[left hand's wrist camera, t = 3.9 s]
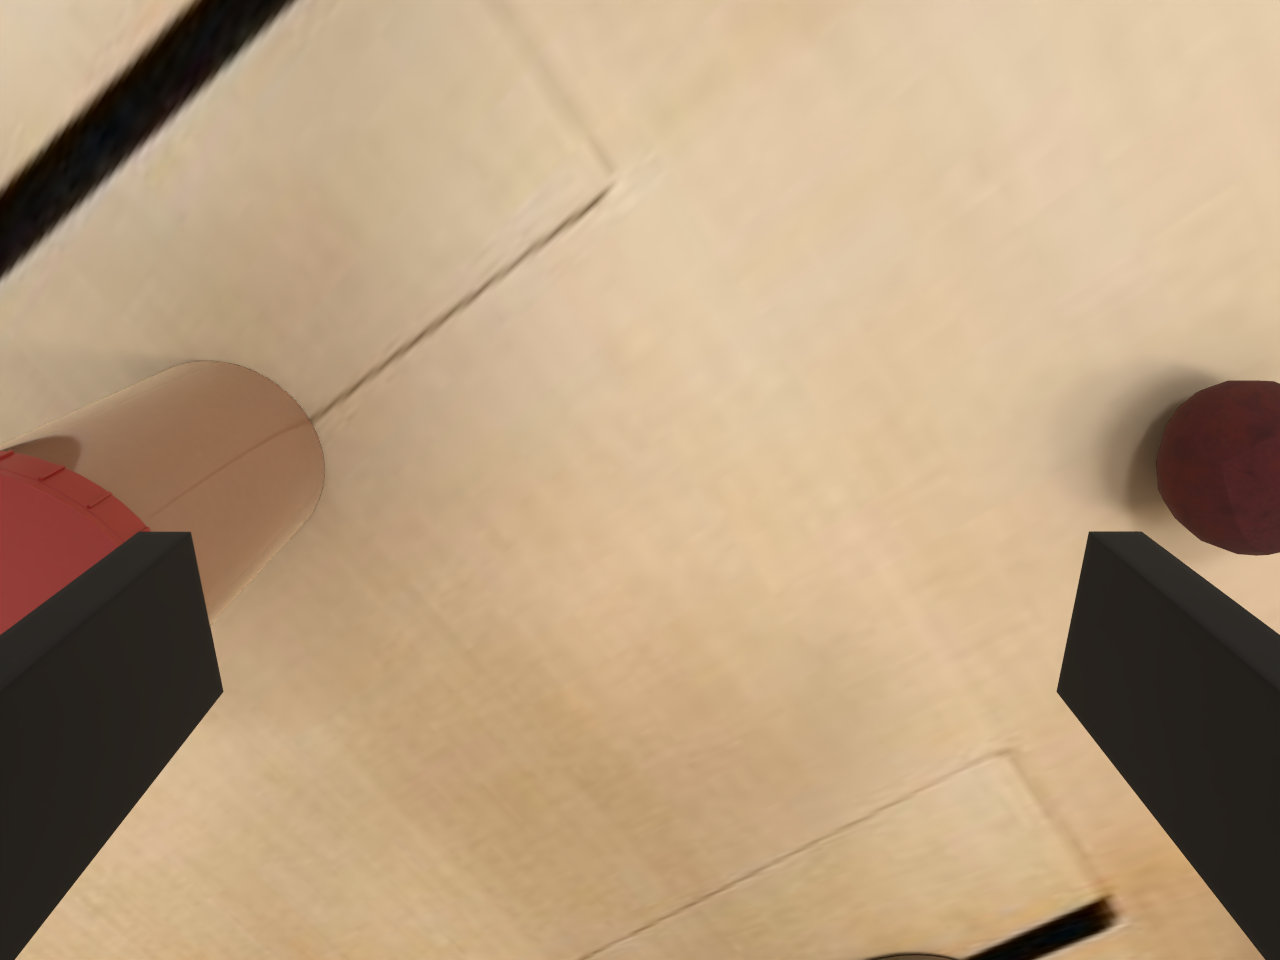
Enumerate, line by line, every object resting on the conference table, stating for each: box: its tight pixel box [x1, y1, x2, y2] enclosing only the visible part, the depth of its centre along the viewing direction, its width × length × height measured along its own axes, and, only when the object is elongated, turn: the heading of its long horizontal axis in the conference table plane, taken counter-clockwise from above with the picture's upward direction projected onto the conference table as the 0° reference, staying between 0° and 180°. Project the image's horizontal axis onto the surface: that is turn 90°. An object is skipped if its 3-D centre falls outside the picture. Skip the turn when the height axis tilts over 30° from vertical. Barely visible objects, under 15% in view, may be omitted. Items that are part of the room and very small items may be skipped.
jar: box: [0, 361, 324, 625], centre depth 34 cm, size 10×10×16 cm
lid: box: [0, 450, 151, 635], centre depth 27 cm, size 11×11×2 cm
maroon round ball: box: [1156, 381, 1280, 555], centre depth 38 cm, size 7×8×7 cm
